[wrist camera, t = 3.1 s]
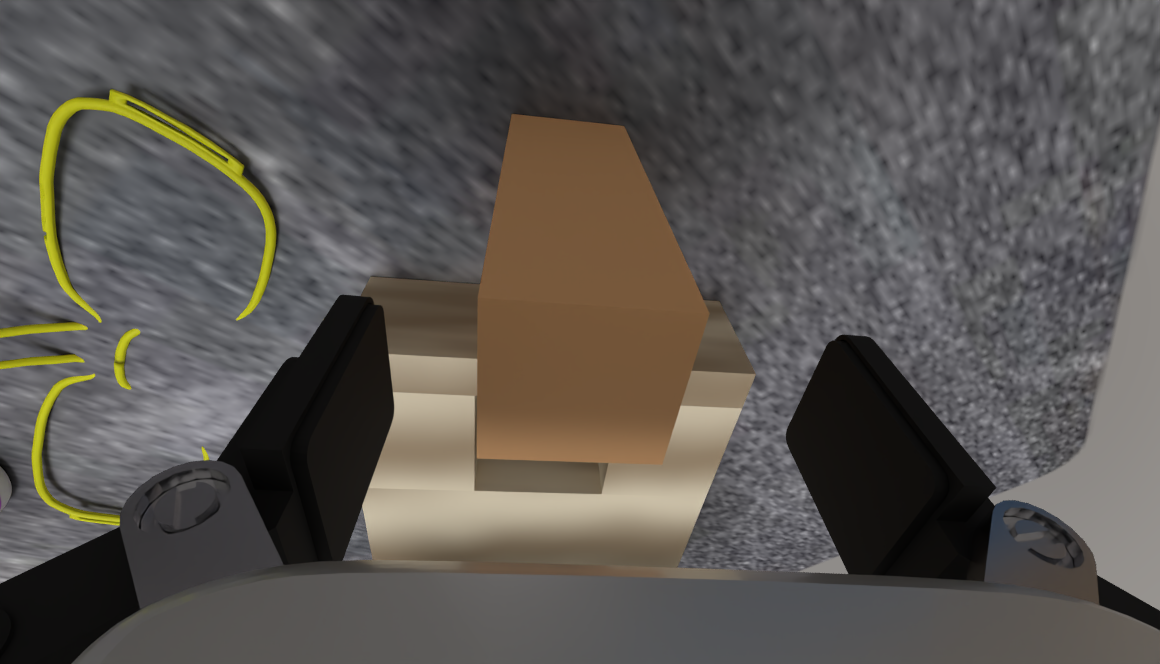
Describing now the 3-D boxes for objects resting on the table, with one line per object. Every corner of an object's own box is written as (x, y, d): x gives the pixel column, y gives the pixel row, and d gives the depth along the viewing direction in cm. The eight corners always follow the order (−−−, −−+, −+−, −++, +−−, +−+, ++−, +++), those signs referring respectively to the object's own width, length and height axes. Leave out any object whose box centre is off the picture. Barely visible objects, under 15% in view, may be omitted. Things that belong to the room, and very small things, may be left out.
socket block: (370, 276, 22) (331, 350, 18) (719, 301, 24) (755, 374, 20) (399, 501, 31) (378, 586, 26) (653, 507, 32) (668, 588, 28)
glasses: (196, 521, 32) (154, 602, 28) (-15, 480, 28) (-97, 567, 24) (308, 160, 20) (260, 217, 16) (-35, 3, 16) (-205, 27, 12)
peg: (511, 114, 18) (477, 297, 9) (624, 125, 19) (709, 313, 9) (507, 220, 21) (476, 458, 11) (607, 228, 21) (661, 464, 12)
